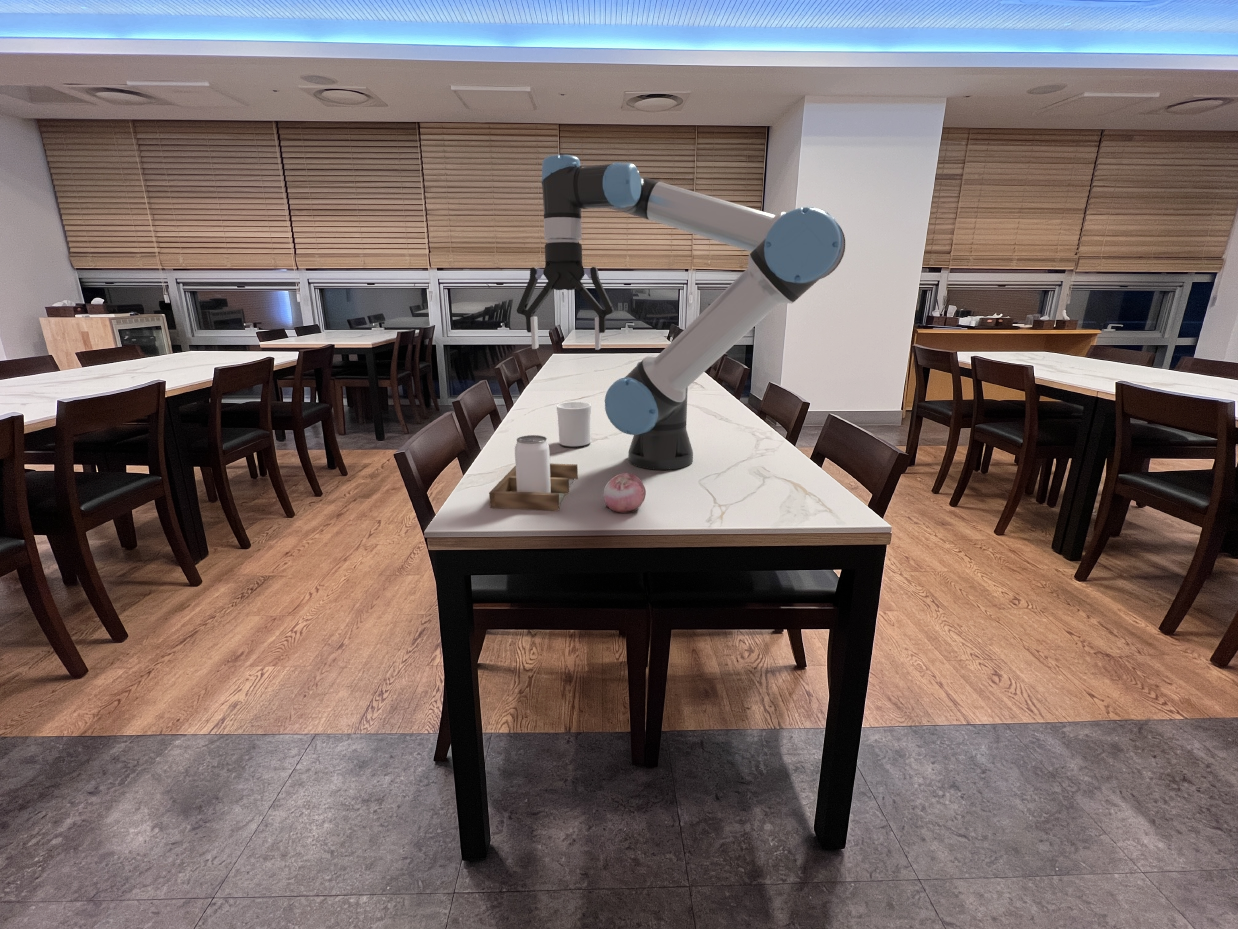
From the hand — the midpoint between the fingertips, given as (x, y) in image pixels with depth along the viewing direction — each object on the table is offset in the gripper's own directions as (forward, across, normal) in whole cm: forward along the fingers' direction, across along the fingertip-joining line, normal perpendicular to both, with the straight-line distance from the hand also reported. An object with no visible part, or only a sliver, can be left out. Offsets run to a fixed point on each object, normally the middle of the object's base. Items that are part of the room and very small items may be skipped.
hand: (566, 348), depth 125 cm
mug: (+27, +3, -21) cm, 34 cm away
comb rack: (+27, +3, +16) cm, 31 cm away
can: (+27, +3, +20) cm, 34 cm away
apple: (+27, -15, +23) cm, 39 cm away
